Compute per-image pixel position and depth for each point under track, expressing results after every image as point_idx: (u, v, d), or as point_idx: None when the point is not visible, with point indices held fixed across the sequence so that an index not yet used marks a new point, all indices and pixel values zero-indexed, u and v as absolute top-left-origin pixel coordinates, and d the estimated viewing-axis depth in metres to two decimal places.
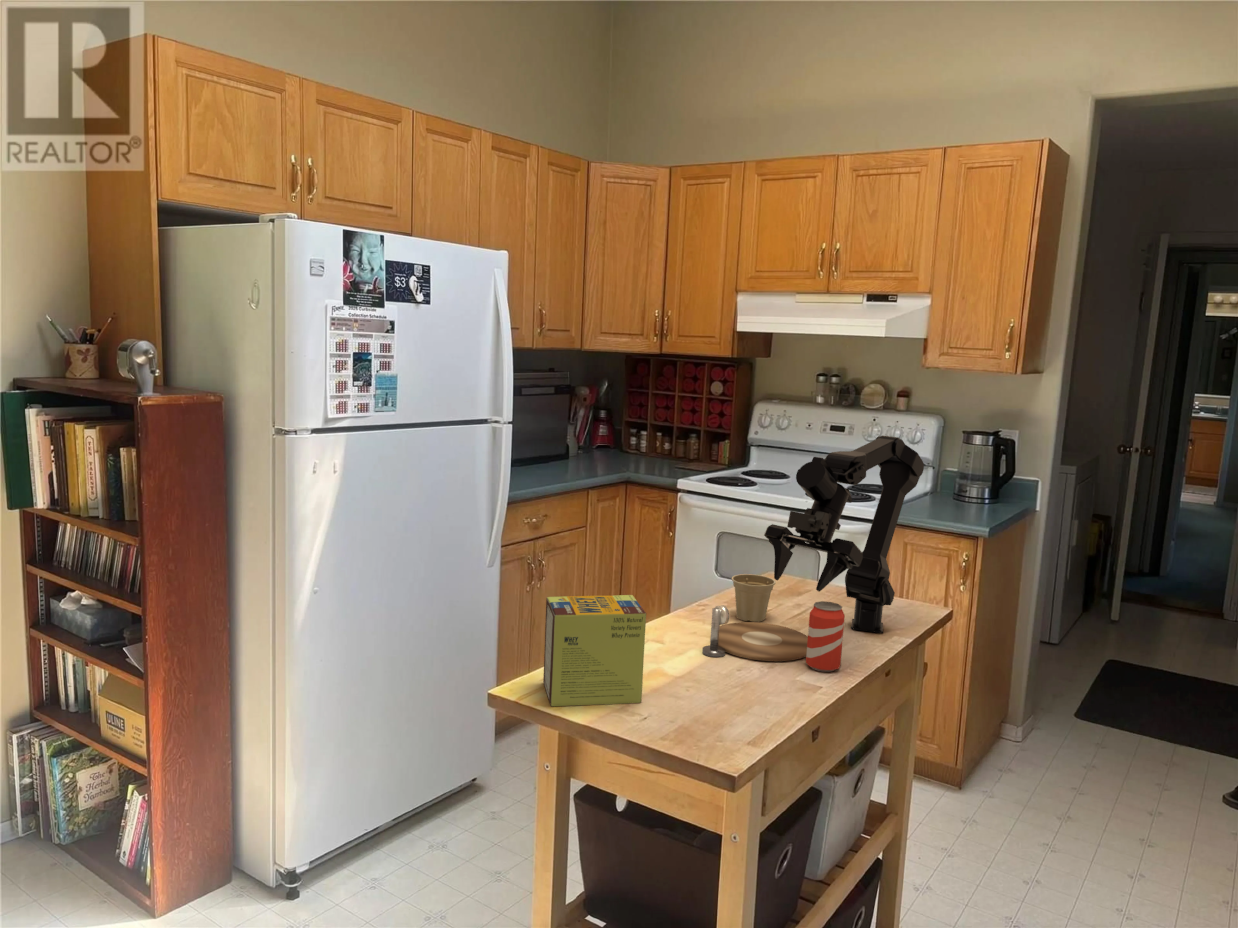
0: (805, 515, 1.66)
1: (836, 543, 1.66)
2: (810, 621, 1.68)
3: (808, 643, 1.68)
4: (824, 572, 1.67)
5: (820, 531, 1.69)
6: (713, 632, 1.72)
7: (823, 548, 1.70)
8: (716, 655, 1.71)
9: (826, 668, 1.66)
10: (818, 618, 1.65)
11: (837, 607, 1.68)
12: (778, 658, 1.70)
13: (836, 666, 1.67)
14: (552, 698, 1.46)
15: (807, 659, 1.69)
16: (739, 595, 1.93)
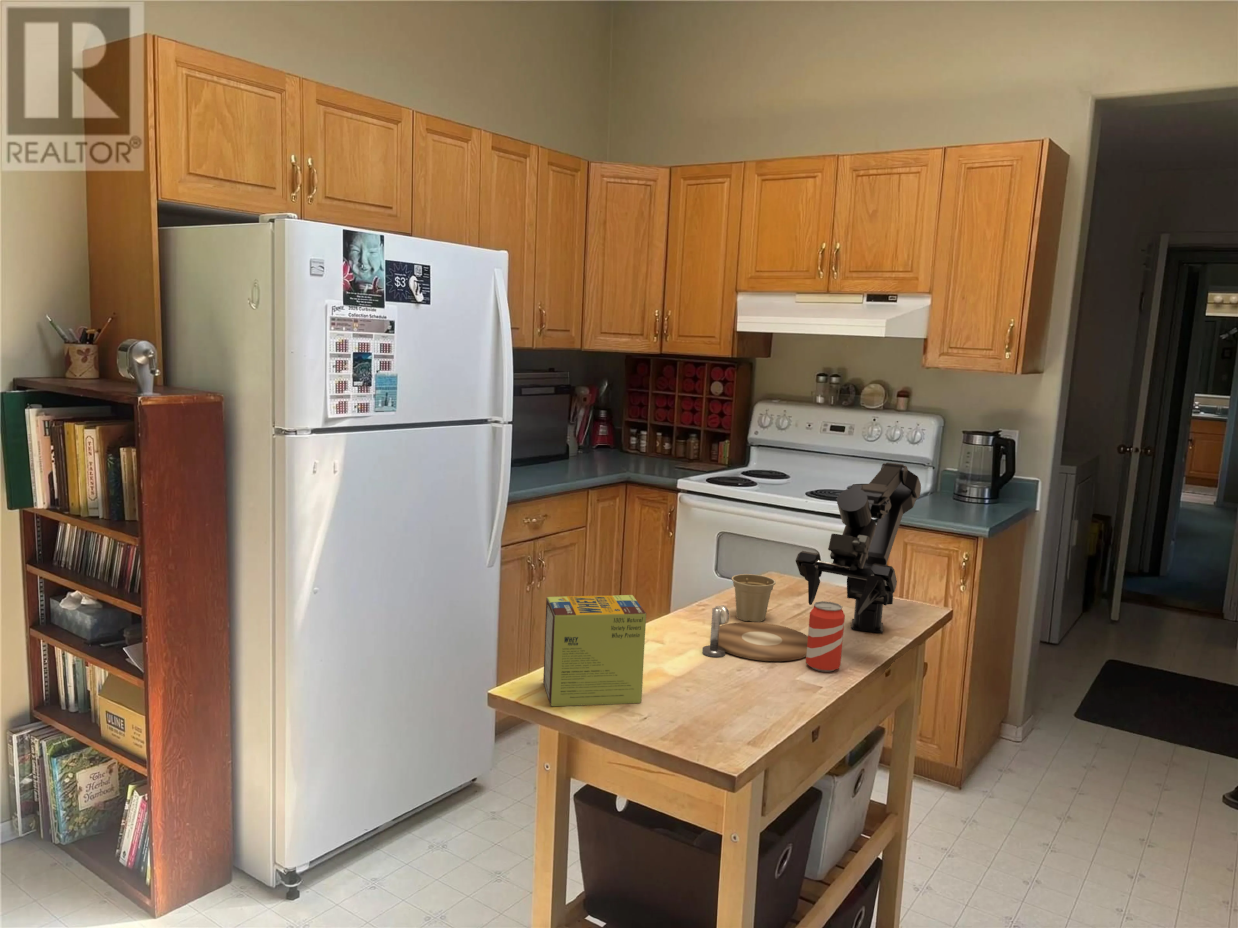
0: (849, 537, 1.69)
1: (876, 567, 1.69)
2: (810, 621, 1.68)
3: (808, 643, 1.68)
4: (864, 595, 1.69)
5: (857, 556, 1.72)
6: (713, 632, 1.72)
7: (858, 574, 1.73)
8: (716, 655, 1.71)
9: (826, 668, 1.66)
10: (818, 618, 1.65)
11: (837, 607, 1.68)
12: (778, 658, 1.70)
13: (836, 666, 1.67)
14: (552, 698, 1.46)
15: (807, 659, 1.69)
16: (739, 595, 1.93)
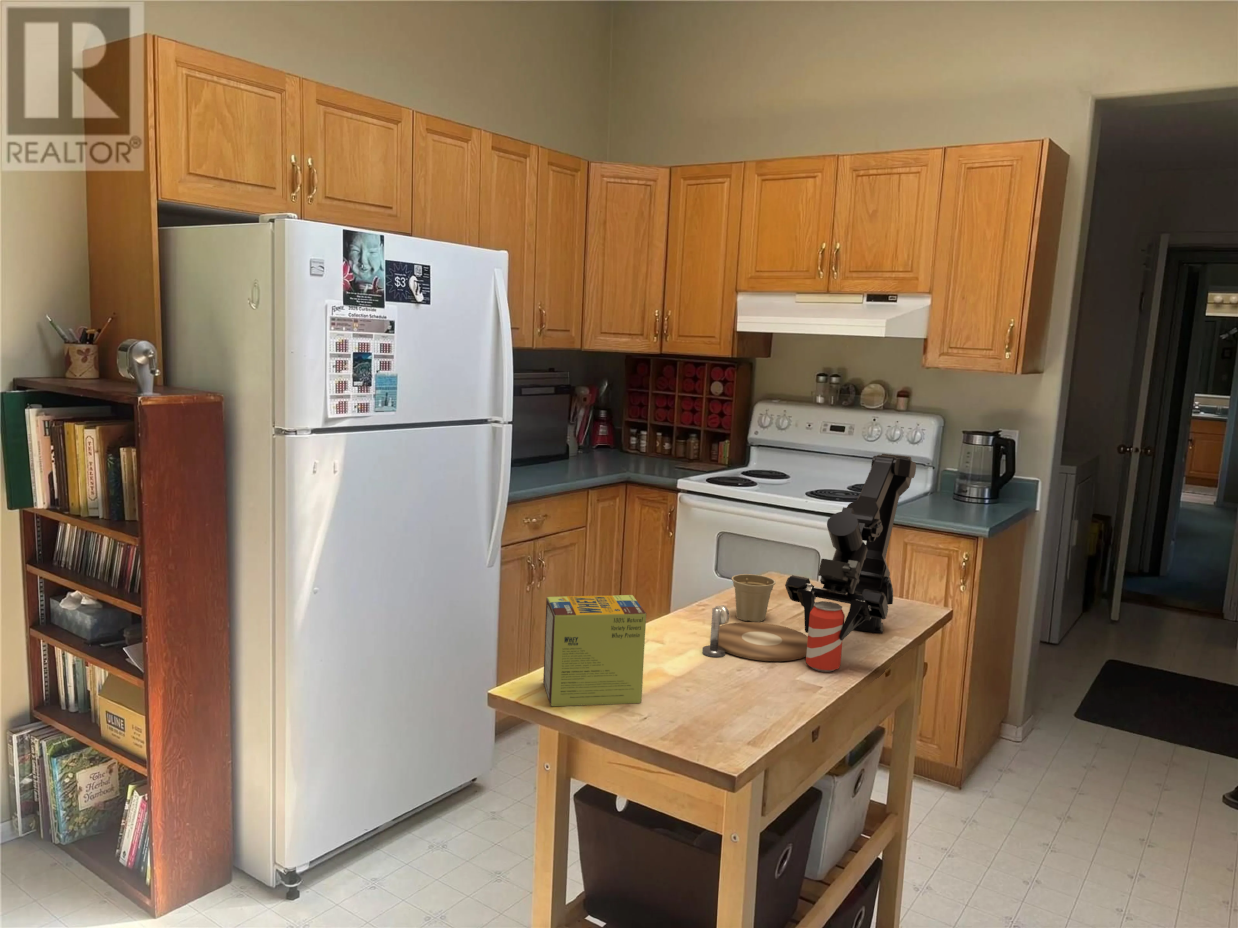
0: (839, 563, 1.66)
1: (867, 593, 1.66)
2: (810, 621, 1.68)
3: (808, 643, 1.68)
4: (847, 620, 1.66)
5: (848, 581, 1.69)
6: (713, 632, 1.72)
7: (842, 598, 1.70)
8: (716, 655, 1.71)
9: (826, 668, 1.66)
10: (818, 618, 1.65)
11: (837, 607, 1.68)
12: (778, 658, 1.70)
13: (836, 666, 1.67)
14: (552, 698, 1.46)
15: (807, 659, 1.69)
16: (739, 595, 1.93)
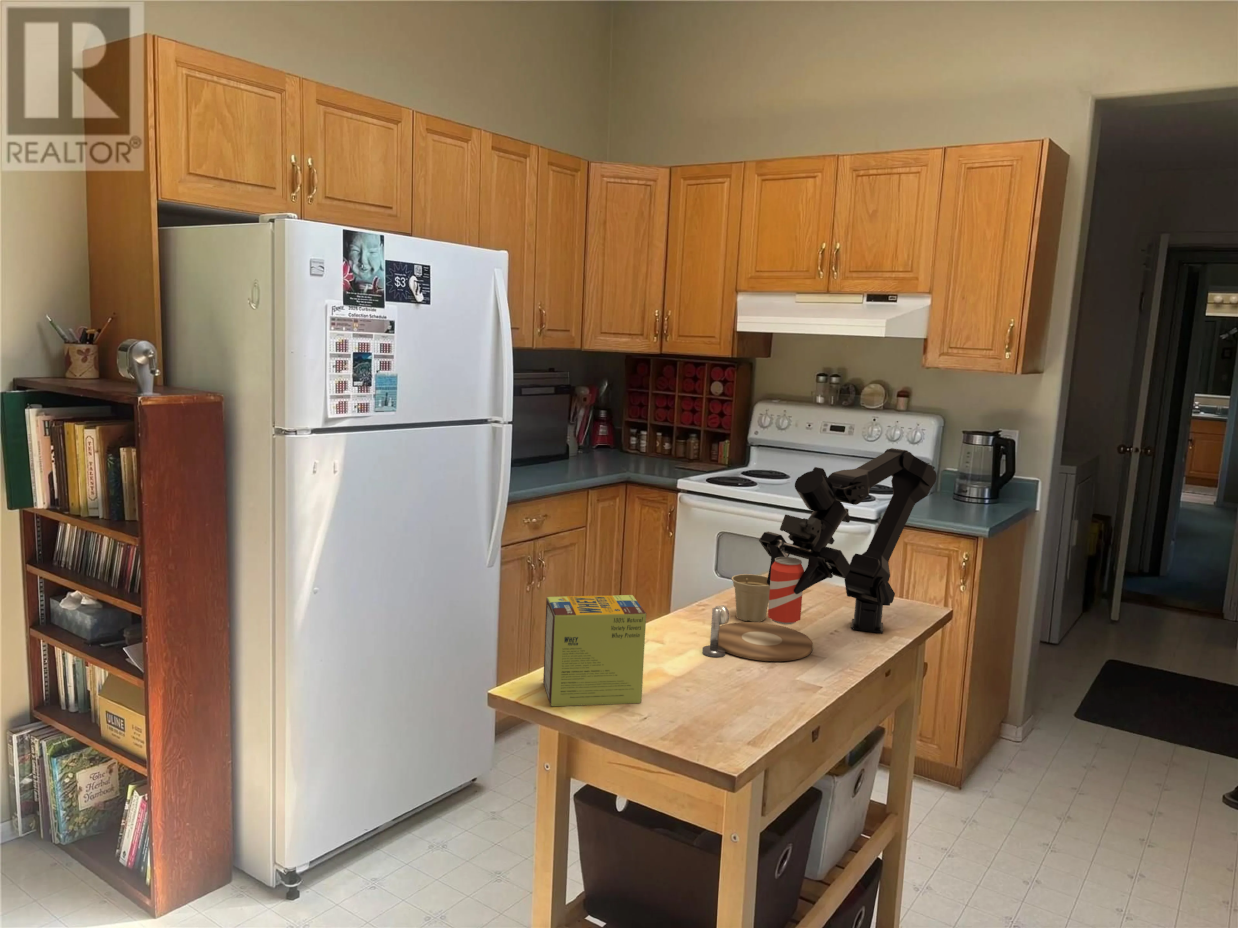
0: (798, 518, 1.71)
1: (824, 550, 1.69)
2: None
3: (769, 595, 1.75)
4: (804, 575, 1.70)
5: (811, 539, 1.73)
6: (713, 632, 1.72)
7: (807, 555, 1.74)
8: (716, 655, 1.71)
9: (781, 620, 1.71)
10: (774, 571, 1.71)
11: (797, 563, 1.72)
12: (778, 658, 1.70)
13: (792, 619, 1.71)
14: (552, 698, 1.46)
15: (768, 611, 1.75)
16: (739, 595, 1.93)
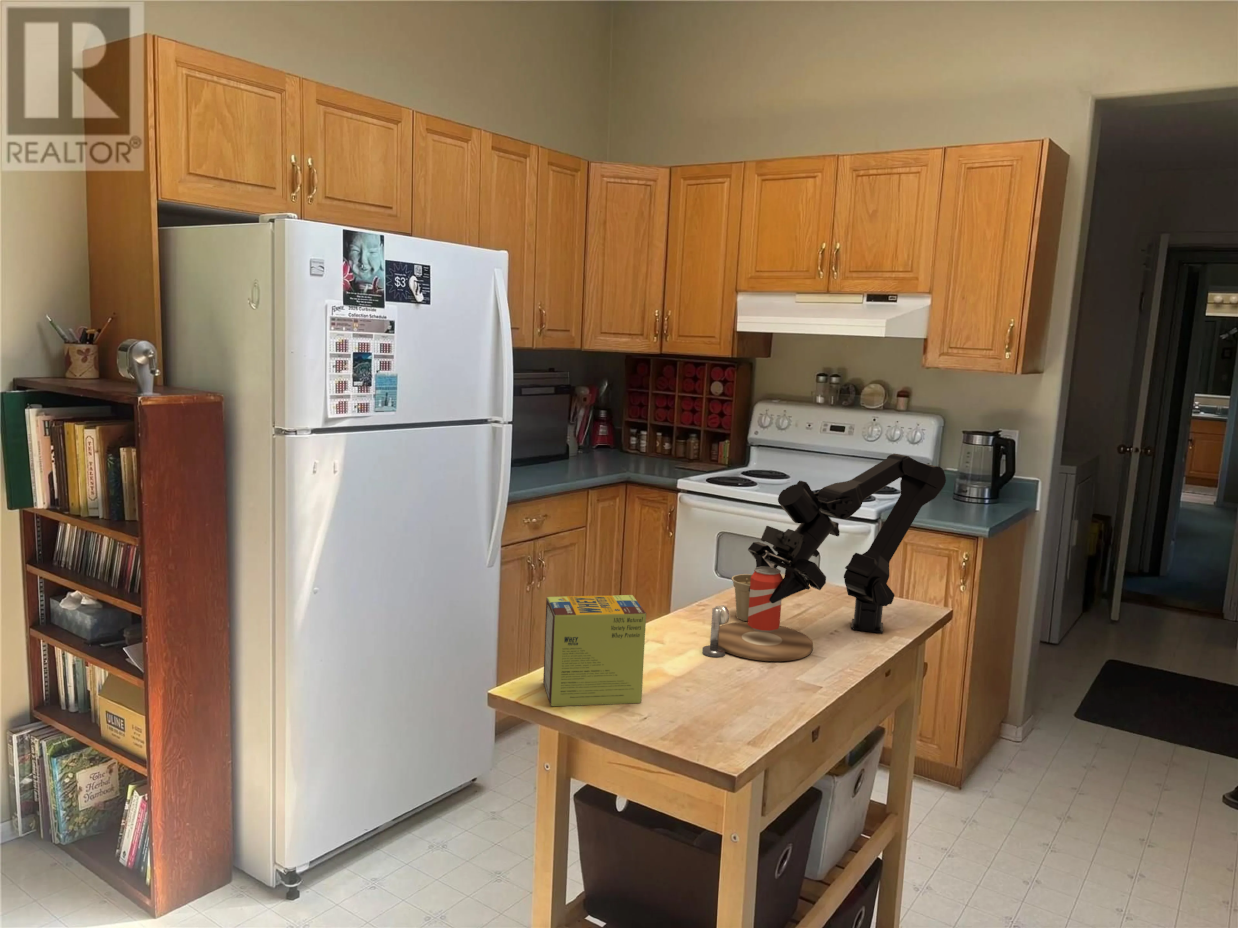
0: (776, 530, 1.76)
1: (799, 562, 1.73)
2: None
3: None
4: (779, 585, 1.75)
5: (791, 550, 1.77)
6: (713, 632, 1.72)
7: (788, 566, 1.79)
8: (716, 655, 1.71)
9: (757, 627, 1.77)
10: (752, 580, 1.77)
11: (776, 573, 1.77)
12: (778, 658, 1.70)
13: (768, 627, 1.77)
14: (552, 698, 1.46)
15: None
16: (739, 595, 1.93)
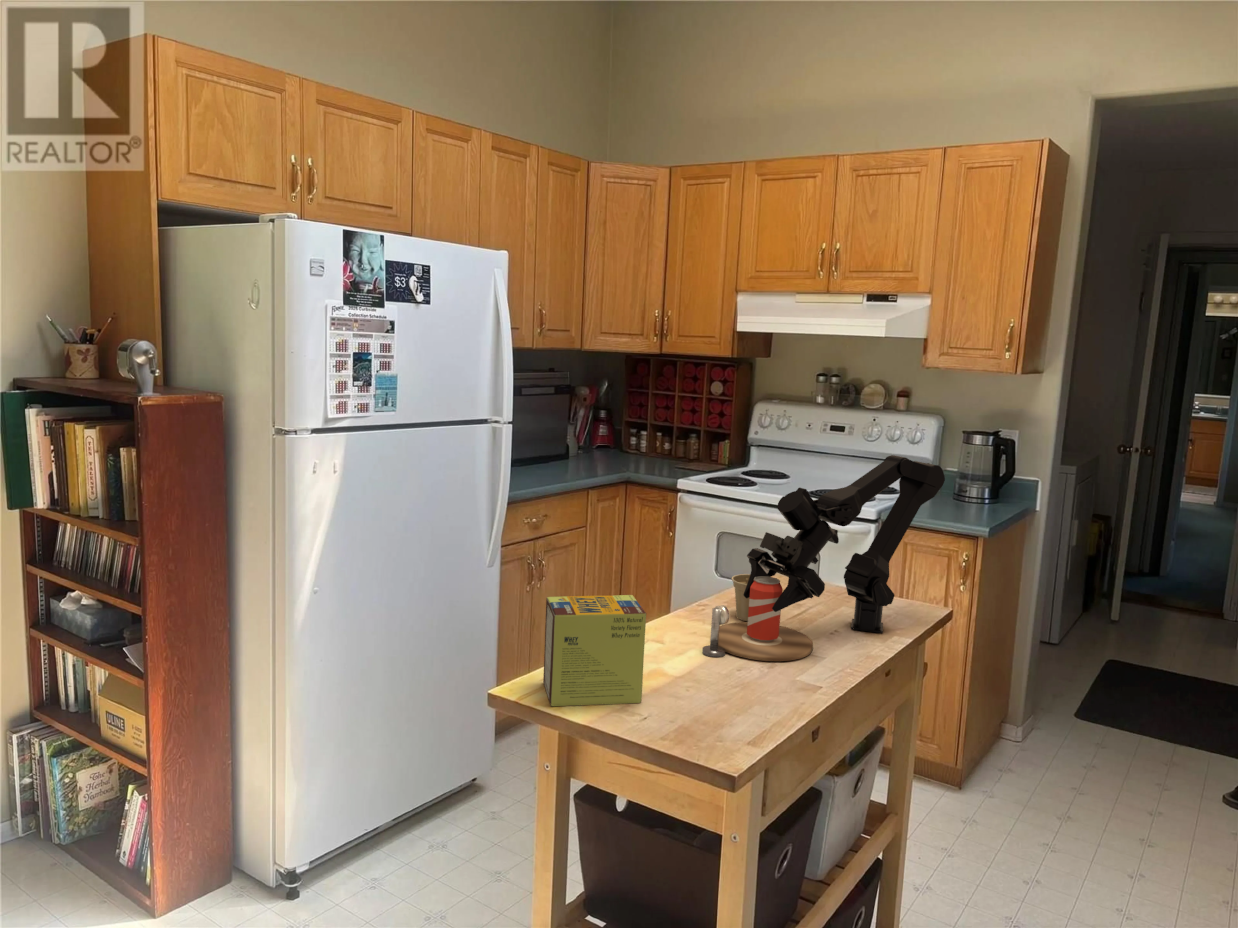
0: (775, 536, 1.76)
1: (798, 568, 1.73)
2: None
3: None
4: (782, 594, 1.74)
5: (790, 557, 1.77)
6: (713, 632, 1.72)
7: (791, 574, 1.78)
8: (716, 655, 1.71)
9: (756, 637, 1.77)
10: (752, 589, 1.78)
11: (776, 583, 1.78)
12: (778, 658, 1.70)
13: (767, 637, 1.77)
14: (552, 698, 1.46)
15: None
16: (739, 595, 1.93)
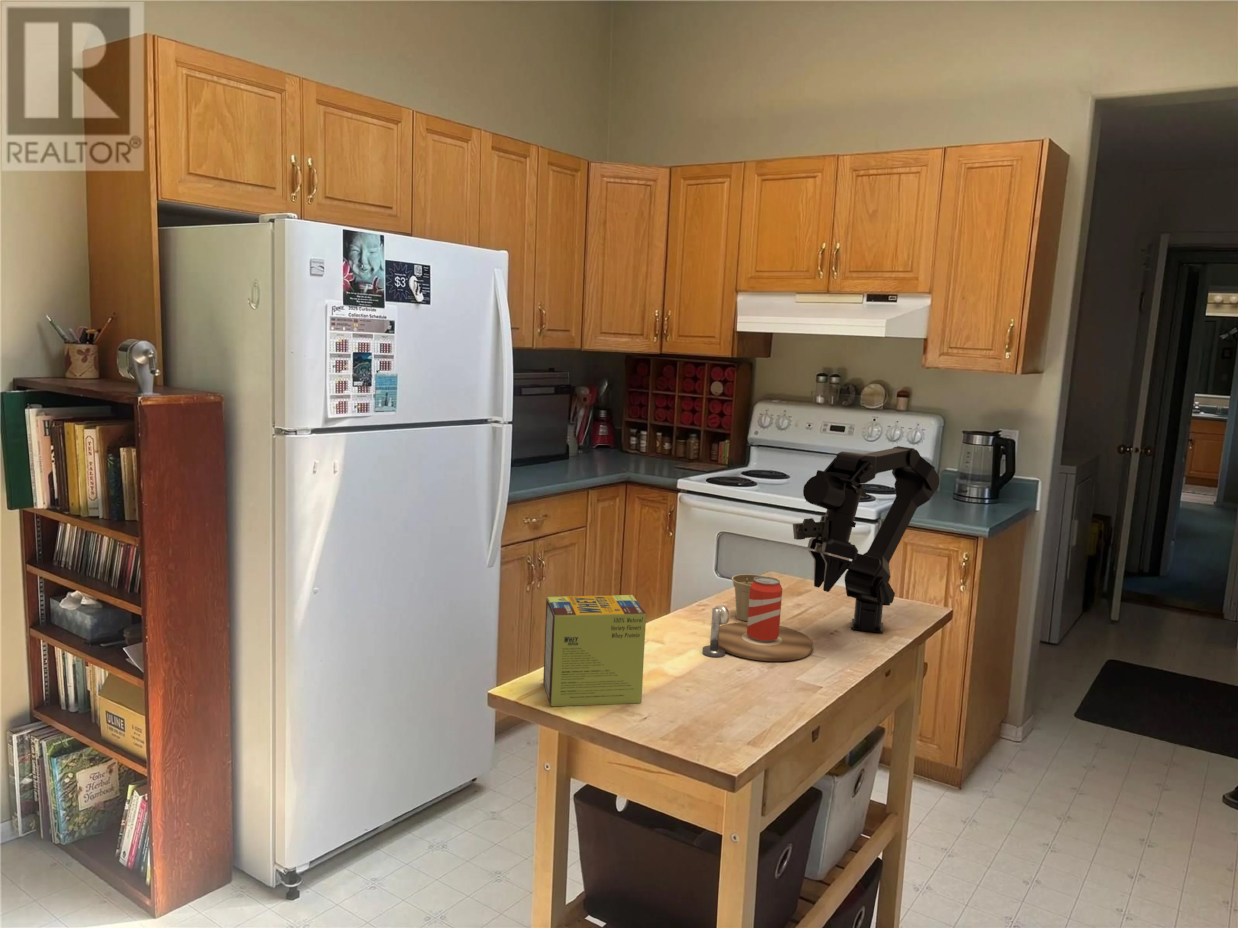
0: (795, 525, 1.80)
1: (823, 544, 1.75)
2: None
3: None
4: (825, 573, 1.76)
5: (821, 535, 1.79)
6: (713, 632, 1.72)
7: None
8: (716, 655, 1.71)
9: (756, 637, 1.77)
10: (751, 589, 1.78)
11: (775, 583, 1.78)
12: (778, 658, 1.70)
13: (767, 637, 1.77)
14: (552, 698, 1.46)
15: None
16: (739, 595, 1.93)
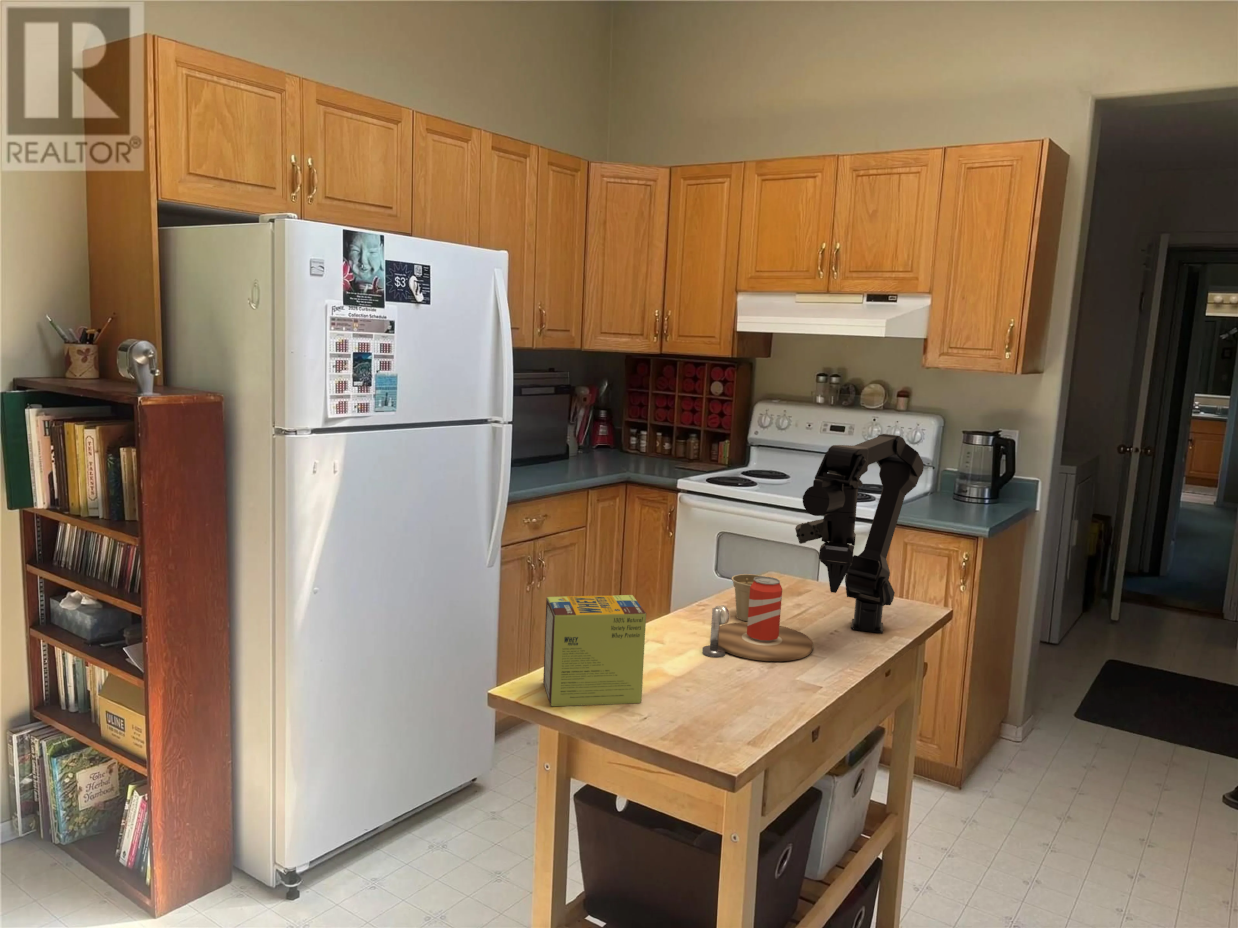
0: (795, 529, 1.80)
1: None
2: None
3: None
4: None
5: (822, 536, 1.78)
6: (713, 632, 1.72)
7: None
8: (716, 655, 1.71)
9: (756, 637, 1.77)
10: (751, 589, 1.78)
11: (775, 583, 1.78)
12: (778, 658, 1.70)
13: (767, 637, 1.77)
14: (552, 698, 1.46)
15: None
16: (739, 595, 1.93)
